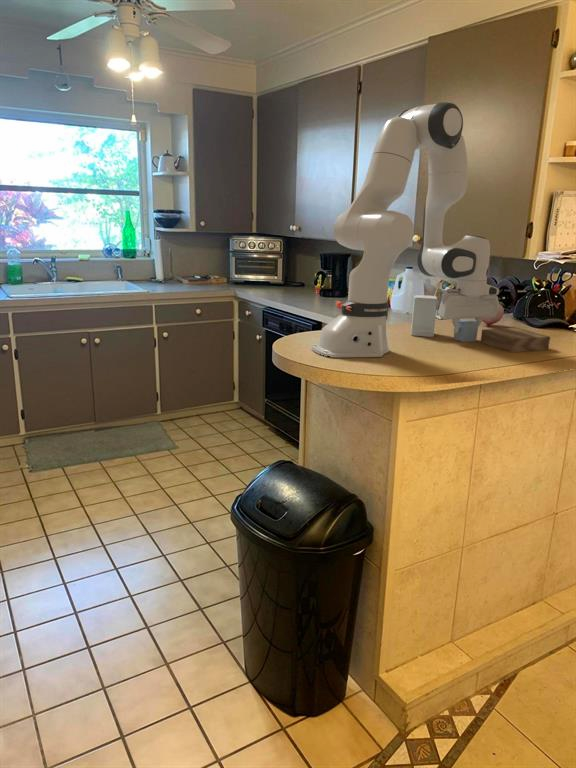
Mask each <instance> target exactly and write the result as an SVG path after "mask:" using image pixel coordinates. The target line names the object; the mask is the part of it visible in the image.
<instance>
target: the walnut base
mask: <svg viewBox="0 0 576 768" xmlns="http://www.w3.org/2000/svg"><path fill="white" fill-rule="evenodd" d="M550 341H551V336H549V335H544V334H542V333H538V332H534V331H532V330H531V331H530V330H526V329H523V328H520V327H511V328H508V327H507V328H487V329H482V330H481V335H480V343H482V344H486V345H489V346H491V347H494V348H497V349H499V350H500V349H501V350H502V351H503V350H504V351H506V352H509V353H517V352H518V353H519V352H520V353H521V352H534V351H548V350H549V347H550V346H549V345H550Z"/></svg>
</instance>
